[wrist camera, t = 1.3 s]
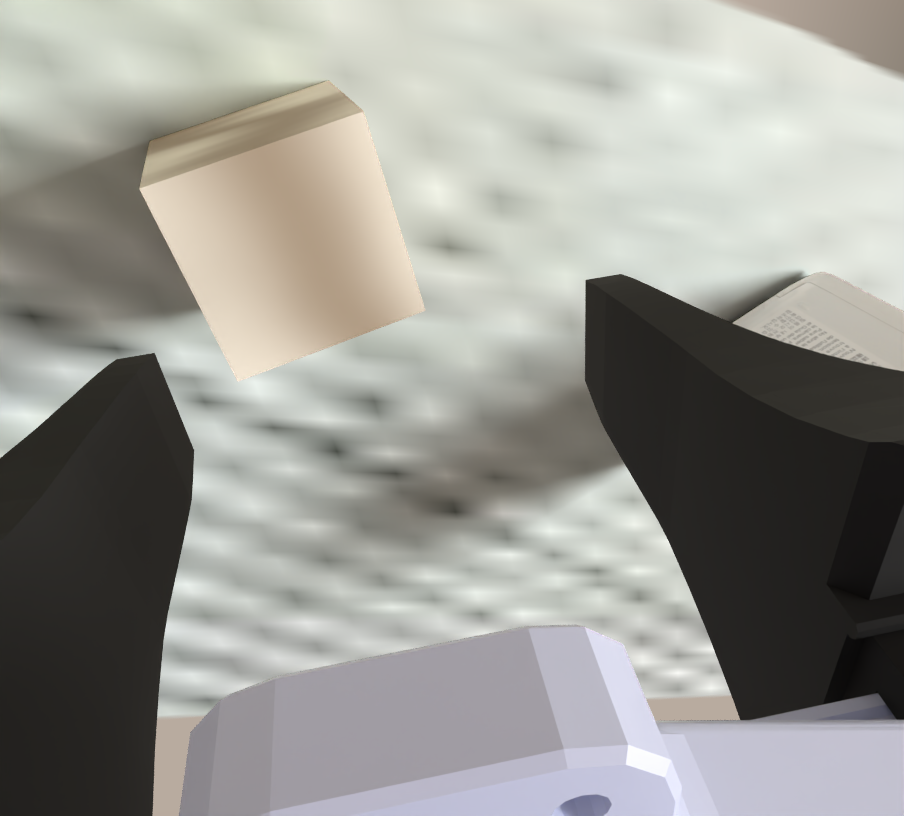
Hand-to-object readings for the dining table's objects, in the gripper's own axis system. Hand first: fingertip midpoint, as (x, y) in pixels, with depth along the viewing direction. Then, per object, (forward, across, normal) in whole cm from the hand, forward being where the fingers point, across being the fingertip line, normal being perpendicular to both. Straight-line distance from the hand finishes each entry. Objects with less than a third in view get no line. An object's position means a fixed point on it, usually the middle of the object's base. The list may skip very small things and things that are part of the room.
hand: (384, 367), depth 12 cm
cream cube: (+11, +2, 0) cm, 11 cm away
